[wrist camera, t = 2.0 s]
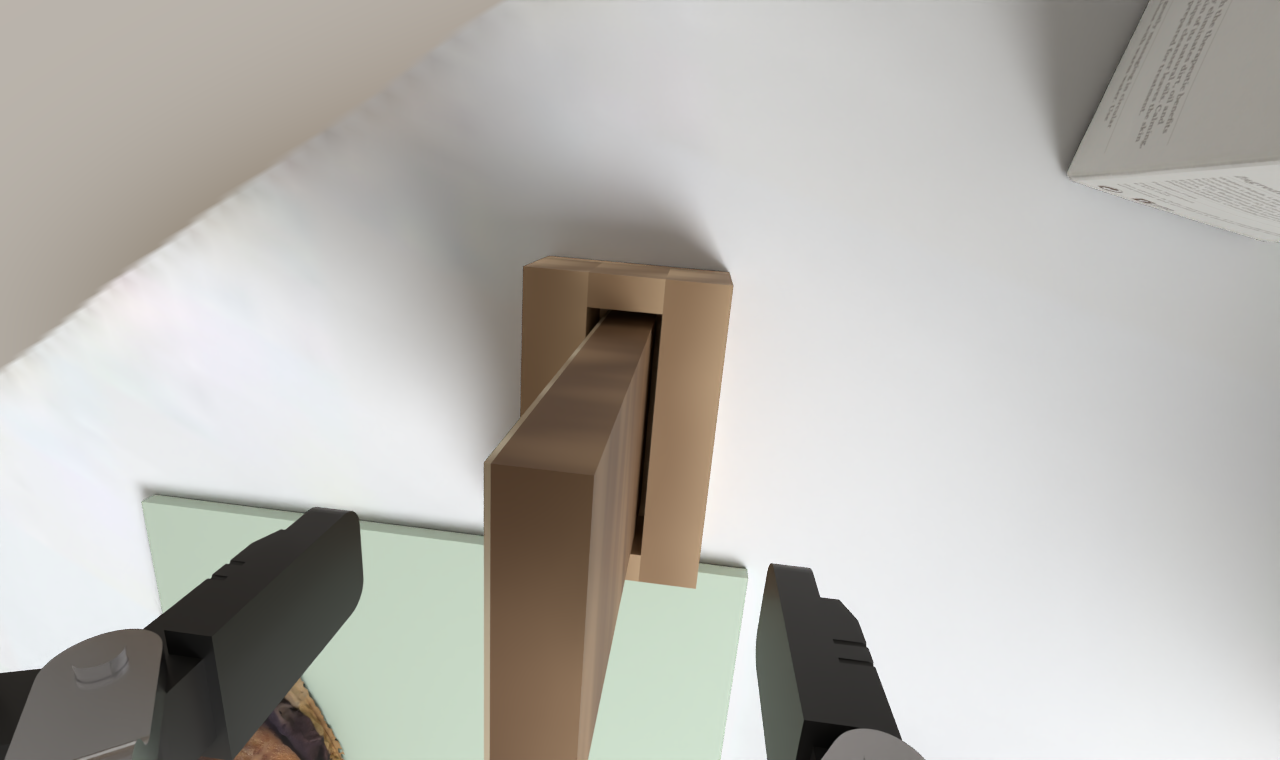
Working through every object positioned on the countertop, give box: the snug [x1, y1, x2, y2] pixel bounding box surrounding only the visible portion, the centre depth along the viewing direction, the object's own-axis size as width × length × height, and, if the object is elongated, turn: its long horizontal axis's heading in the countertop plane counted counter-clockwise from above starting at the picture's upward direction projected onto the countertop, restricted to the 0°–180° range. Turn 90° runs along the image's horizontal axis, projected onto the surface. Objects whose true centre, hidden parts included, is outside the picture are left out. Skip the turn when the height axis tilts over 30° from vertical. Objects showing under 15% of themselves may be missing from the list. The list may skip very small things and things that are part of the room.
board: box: [484, 309, 657, 760], centre depth 15 cm, size 2×7×12 cm, turn 175°
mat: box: [141, 495, 748, 760], centre depth 27 cm, size 24×20×1 cm
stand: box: [520, 256, 733, 589], centre depth 20 cm, size 6×10×3 cm, turn 175°
